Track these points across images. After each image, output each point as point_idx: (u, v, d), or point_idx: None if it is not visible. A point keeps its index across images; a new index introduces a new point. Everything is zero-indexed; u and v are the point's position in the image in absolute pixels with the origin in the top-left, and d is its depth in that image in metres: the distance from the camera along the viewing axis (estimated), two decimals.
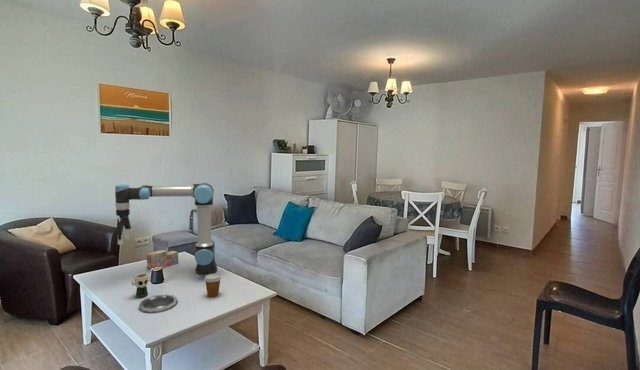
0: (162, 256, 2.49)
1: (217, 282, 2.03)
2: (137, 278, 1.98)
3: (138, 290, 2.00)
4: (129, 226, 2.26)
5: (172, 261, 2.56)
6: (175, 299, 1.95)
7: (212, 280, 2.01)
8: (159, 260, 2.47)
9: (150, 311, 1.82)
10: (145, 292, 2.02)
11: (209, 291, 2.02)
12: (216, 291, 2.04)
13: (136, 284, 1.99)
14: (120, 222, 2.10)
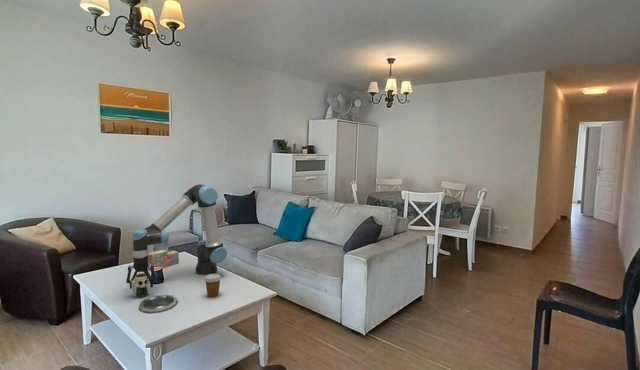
0: (162, 256, 2.50)
1: (217, 282, 2.03)
2: (137, 278, 1.98)
3: (138, 290, 2.00)
4: (153, 280, 2.03)
5: (172, 261, 2.57)
6: (175, 299, 1.95)
7: (212, 280, 2.01)
8: (160, 259, 2.48)
9: (150, 311, 1.82)
10: (145, 292, 2.02)
11: (209, 291, 2.02)
12: (216, 291, 2.04)
13: (136, 284, 1.99)
14: None
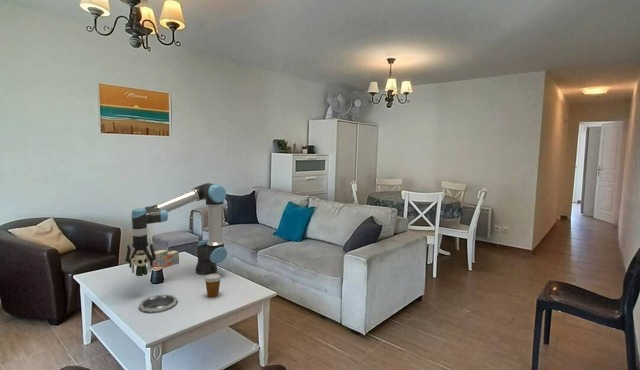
0: (163, 256, 2.50)
1: (217, 282, 2.03)
2: (136, 257, 1.97)
3: (138, 269, 1.99)
4: (153, 258, 2.01)
5: (172, 261, 2.57)
6: (175, 299, 1.95)
7: (212, 280, 2.01)
8: (160, 259, 2.48)
9: (150, 311, 1.82)
10: (145, 271, 2.00)
11: (209, 291, 2.02)
12: (216, 291, 2.04)
13: (136, 263, 1.98)
14: None
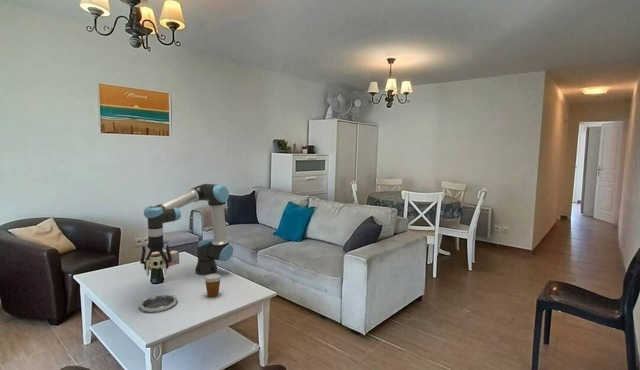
0: None
1: (217, 282, 2.03)
2: (152, 258, 1.87)
3: (153, 271, 1.88)
4: (168, 260, 1.91)
5: (173, 260, 2.57)
6: (175, 299, 1.95)
7: (212, 280, 2.01)
8: None
9: (150, 311, 1.82)
10: (160, 273, 1.90)
11: (209, 291, 2.02)
12: (216, 291, 2.04)
13: (151, 265, 1.87)
14: None
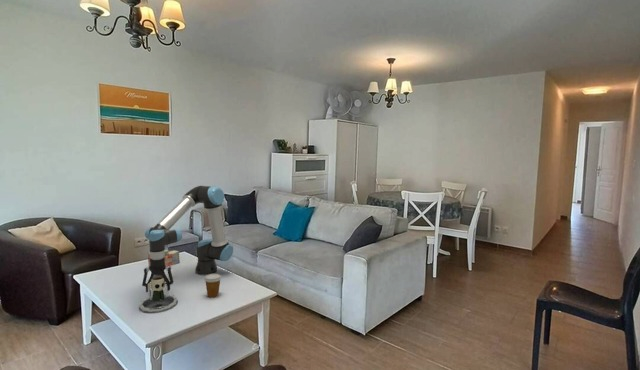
0: None
1: (217, 282, 2.03)
2: (154, 281, 1.87)
3: (155, 294, 1.89)
4: (170, 283, 1.92)
5: (173, 260, 2.57)
6: (175, 299, 1.95)
7: (212, 280, 2.01)
8: None
9: (150, 311, 1.82)
10: (162, 296, 1.91)
11: (209, 291, 2.02)
12: (216, 291, 2.04)
13: (153, 287, 1.88)
14: None
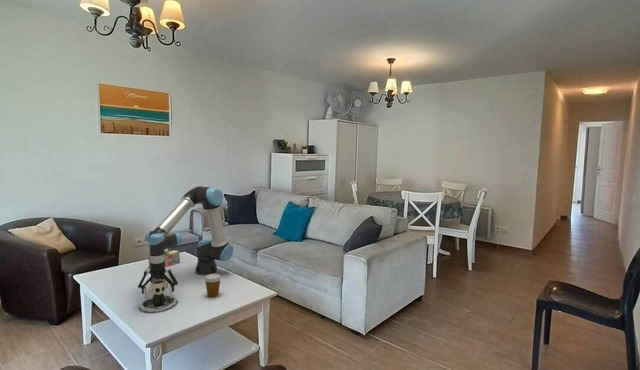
0: None
1: (217, 282, 2.03)
2: (154, 285, 1.88)
3: (155, 297, 1.89)
4: (174, 284, 1.92)
5: (173, 260, 2.58)
6: (175, 299, 1.95)
7: (212, 280, 2.01)
8: None
9: (150, 311, 1.82)
10: (162, 299, 1.91)
11: (209, 291, 2.02)
12: (216, 291, 2.04)
13: (153, 291, 1.88)
14: None
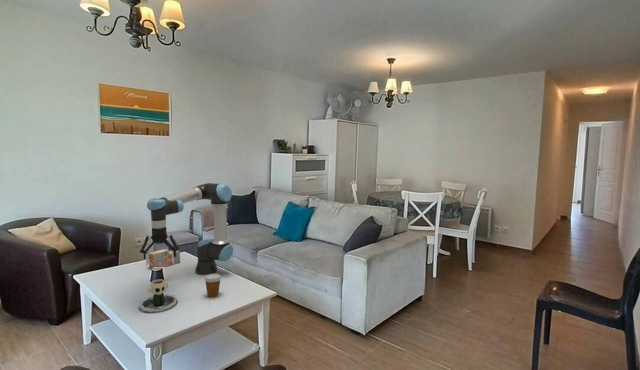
0: (164, 255, 2.51)
1: (217, 282, 2.03)
2: (154, 285, 1.88)
3: (155, 297, 1.89)
4: (176, 249, 1.93)
5: (174, 260, 2.58)
6: (175, 299, 1.95)
7: (212, 280, 2.01)
8: (161, 259, 2.49)
9: (150, 311, 1.82)
10: (162, 299, 1.91)
11: (209, 291, 2.02)
12: (216, 291, 2.04)
13: (153, 291, 1.88)
14: (145, 240, 1.89)
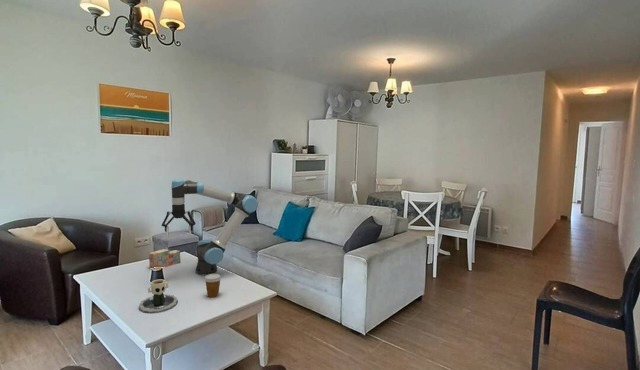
0: (164, 255, 2.51)
1: (217, 282, 2.03)
2: (154, 285, 1.88)
3: (155, 297, 1.89)
4: (193, 224, 2.20)
5: (174, 260, 2.58)
6: (175, 299, 1.95)
7: (212, 280, 2.01)
8: (161, 259, 2.50)
9: (150, 311, 1.82)
10: (162, 299, 1.91)
11: (209, 291, 2.02)
12: (216, 291, 2.04)
13: (153, 291, 1.88)
14: (166, 215, 2.16)
